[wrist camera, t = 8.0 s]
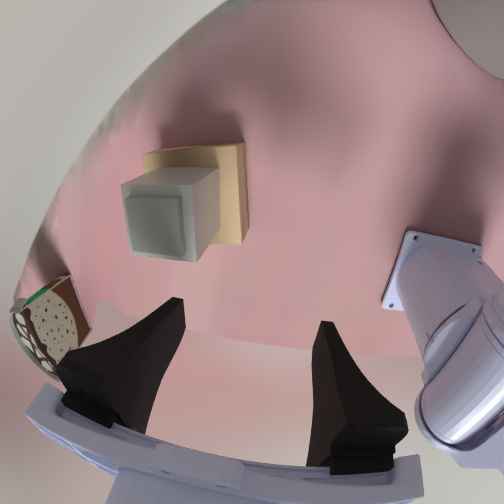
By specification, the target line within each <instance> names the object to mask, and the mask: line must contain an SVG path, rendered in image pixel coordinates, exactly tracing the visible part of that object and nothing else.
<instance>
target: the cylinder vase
mask: <svg viewBox="0 0 504 504" xmlns="http://www.w3.org/2000/svg"><path fill="white" fill-rule="evenodd" d="M432 2H433V5H434V7H435V9H436V12H437V14H438V16H439V18H440V19H441V21H442V23H443V25H444V26H445V28H446V29H447V31H448V32H449V34H450V35H451V37H452V38H453V39H454V41H455V42H456V43H457V44H458V46H459V47H460V48H461V49H462V50H463V51H464V52H465V53H466V55H467V56H468V57H469V58H470V59H471V60H473V61H474V62H475V63H476V64H477V65H478V66H479V67H481V68H482V69H483V70H485V71H486V72H488V73H489V74H491V75H493V76H494V77H496V78H499V79H501V80H504V0H432Z"/></svg>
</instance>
